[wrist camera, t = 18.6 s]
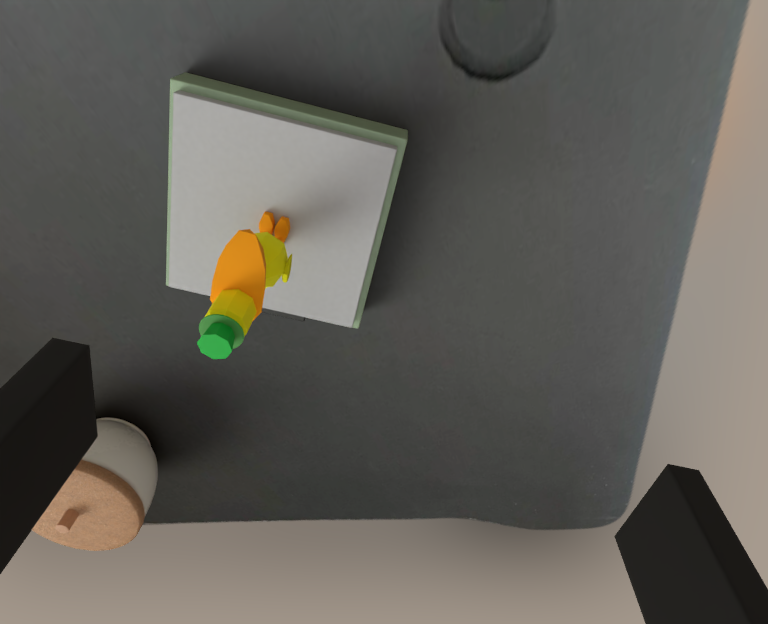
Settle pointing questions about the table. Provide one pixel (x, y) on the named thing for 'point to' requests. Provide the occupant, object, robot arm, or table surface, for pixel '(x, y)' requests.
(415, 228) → the table surface
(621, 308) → the table surface
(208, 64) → the table surface
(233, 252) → the toy figure
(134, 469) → the trinket box
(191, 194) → the kitchen scale
